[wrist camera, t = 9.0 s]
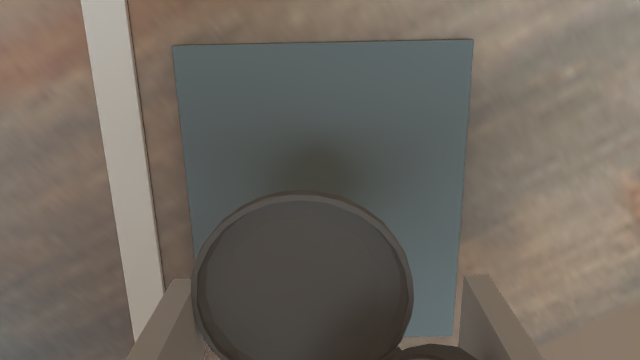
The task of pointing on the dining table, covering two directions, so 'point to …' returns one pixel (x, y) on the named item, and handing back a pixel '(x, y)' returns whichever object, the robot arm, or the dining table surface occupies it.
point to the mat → (336, 141)
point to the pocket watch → (306, 284)
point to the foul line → (125, 153)
